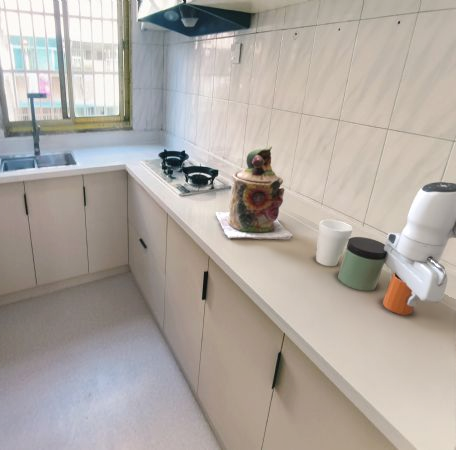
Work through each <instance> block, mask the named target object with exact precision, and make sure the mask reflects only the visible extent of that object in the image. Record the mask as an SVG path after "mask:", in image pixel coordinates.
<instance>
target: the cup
mask: <svg viewBox="0 0 456 450" xmlns="http://www.w3.org/2000/svg"><path fill="white" fill-rule="evenodd" d="M390 280H391V281H390ZM390 280H389V283H388V286H387V289H386V291H385V294H384V297H383V300H382V305H383V306H384V307H385V309H387V311H388V310H389V311H390V312H393V313H395V314H398V315H401V316H408V315H411V314H412V312H413V310H414V309H415V306H408V304H407V303H406V302H405V300H406V298H407V297H411V296H412V294H411V293H412V290H411V289H410V288H409V287H408V286H407V285H406V282H403V281H402V280H401V279H400V278H399V277H398V276H397V275H396V273H395V272H394V273H393V275H392V278H391V279H390Z"/></svg>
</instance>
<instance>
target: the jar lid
mask: <svg viewBox="0 0 456 450" xmlns="http://www.w3.org/2000/svg"><path fill="white" fill-rule="evenodd" d="M385 244H386V243H384V242H381V241H379V240H376V239H373V238H369V237H363V236H353V237H352V236H351V237H349V239H348V241H347V244H346V247H347V249H348V250H349V251H351V252H352V253H354V254H356V255H358V256H361V257H365V258H369V259H384V258H385V257H386V254H387V251H385V250H384V247H385Z"/></svg>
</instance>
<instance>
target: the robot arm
mask: <svg viewBox="0 0 456 450" xmlns="http://www.w3.org/2000/svg"><path fill="white" fill-rule="evenodd" d="M452 238H453V239H456V183H454V182H446V181H437V182H435V181H434V182H430V183H426V184H425V185H423V186H422V187H421V188H420V189H419V190H418V192H417V193H416V194H415V197H414V199H413V201H412V203H411V206H410V208H409V211H408V214H407V221H406V224H405V227H404V228H403V229H402V231H401V232H393V231H389V232H388V233H387V235H386V239H387V240H386V242H385V243H384V244H385V247H384V250H385V251H387V254H386V257H385V258H384V259H385V260H384V265H386V267H387V268H388V269H389V279H390V280H389V282H390V281H391V278H392V275H393V273H394V272H395V273H396V275H397V276H398V277H399V278H400V279H401V280H402V281H403V282H406V285H407V286H408V287H409V288H410V289H411V290H412V293H411V294H412V296H411V297H407V298H406V300H405V302H406V303H407V304H408V306H414V307H416V306H417V304H418V302H419V301H422V302H424V303H433V304H434V303H435V304H437V303H440V302H442V300H443V298H444V295H445V291H446V289H447V285H448V284H447V283H448V274H447V272H446V267H445V266H444V265H443V264H441V263H440V260H441V258H442V256H443V253H444V251H445V248H446V246H447V244H448V241H449V240H450V239H452Z"/></svg>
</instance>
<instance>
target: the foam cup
mask: <svg viewBox="0 0 456 450" xmlns="http://www.w3.org/2000/svg"><path fill="white" fill-rule="evenodd" d="M353 228H354V227H353V226H352V225H351V224H349V223H347V222H344V221H341V220H338V219H329V218H328V219H322V220H320V221H319V224H318V228H317V232H318V233H317V243H316V244H317V245H316V253H315V260H316V262H317V263H319V264H320V265H323V266H326V267H335V266H337V264H338V263H339V260H341V259H340V258H341V256H342V254H343V252H344V251H345V249H346V248H345V247H347V243H348V240H349V239H350V238H352V233H353Z"/></svg>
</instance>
